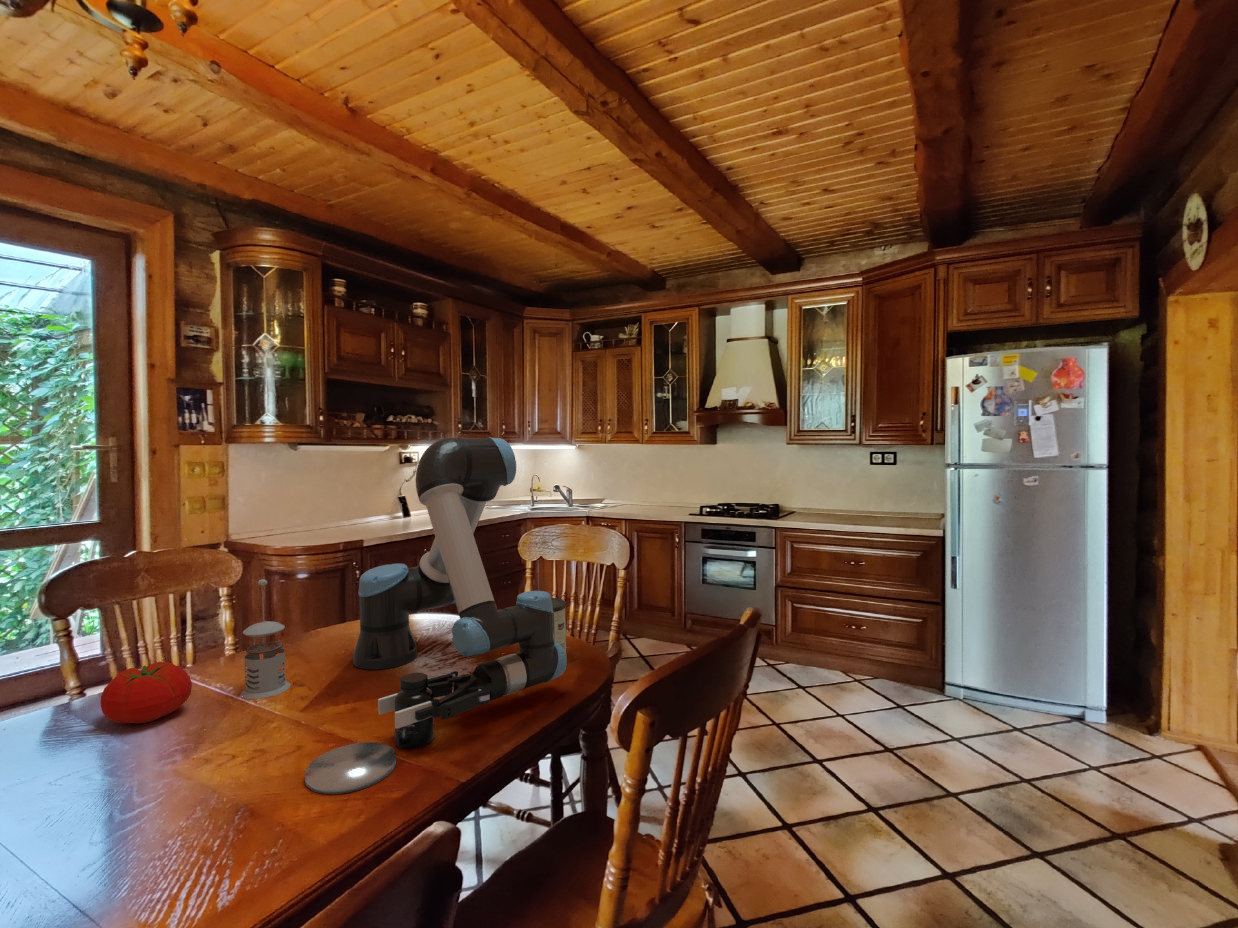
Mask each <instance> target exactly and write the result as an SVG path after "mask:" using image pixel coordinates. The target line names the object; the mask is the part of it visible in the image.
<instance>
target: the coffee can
mask: <svg viewBox="0 0 1238 928" xmlns="http://www.w3.org/2000/svg"><path fill="white" fill-rule="evenodd" d="M551 600H552V606H553V639H554V642H555V643H558V644H560V645H561V646H562V648H563V649H564V651H565V652H564V654H565V656H566V658H568V657H567V630H566V629H567V627H566V625H567V622H566V621H567V620H566V619H567V618H566V617H567V616H566V605H567V602H566V600H564V599H561V598H556V597H551Z"/></svg>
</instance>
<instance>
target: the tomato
mask: <svg viewBox="0 0 1238 928" xmlns="http://www.w3.org/2000/svg"><path fill="white" fill-rule="evenodd" d="M192 686H193V682H192V679H191V677H190V675H189V674H188V673H187V672H186V670H184V669H183V668H181V667H180V666H179V665H176V664H174V663H173V662H167V661H157V662H153V663H151V664H148V665H143V666H142V668H141V669H137V668H135V667H131V668H127V669H124V670H123V671H121V672H118V674H116V675H115V677H113V679H112V680H110V681H109V683H107V685H106V686H104V688H103V691H102V692H101V695H100V707H101V712H102V714H103V715H104V717H105V718H107V719H108V720H111V721H112V722H115V723H116V724H122V725H123V724H146V723H147V724H148V723H151V722H153V721H156V720H158V719H160V718H163V717H165V716H167V715H169V714H171V713H173V712H174V711H176V710H178V709H179V708H180V707H182V706H183V705H184V704H185V702H187V701H188V700H189V697H190V695H191V693H192Z"/></svg>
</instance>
